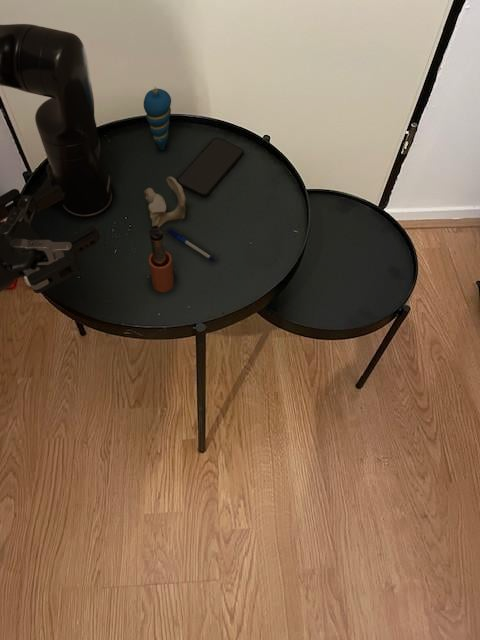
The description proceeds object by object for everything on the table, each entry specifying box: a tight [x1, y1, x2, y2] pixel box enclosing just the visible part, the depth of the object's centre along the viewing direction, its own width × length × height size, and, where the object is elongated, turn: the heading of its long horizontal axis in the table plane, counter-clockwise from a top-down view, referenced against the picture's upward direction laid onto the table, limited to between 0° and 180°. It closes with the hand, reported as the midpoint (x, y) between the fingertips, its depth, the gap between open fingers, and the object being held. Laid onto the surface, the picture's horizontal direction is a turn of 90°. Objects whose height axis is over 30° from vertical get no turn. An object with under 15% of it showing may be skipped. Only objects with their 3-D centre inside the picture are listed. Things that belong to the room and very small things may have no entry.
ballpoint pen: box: [168, 229, 215, 261], centre depth 101 cm, size 10×1×1 cm, turn 54°
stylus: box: [149, 227, 167, 267], centre depth 90 cm, size 2×2×14 cm
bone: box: [143, 176, 187, 228], centre depth 101 cm, size 9×6×10 cm
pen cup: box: [148, 250, 175, 293], centre depth 94 cm, size 4×4×7 cm
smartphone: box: [176, 137, 245, 198], centre depth 111 cm, size 7×1×15 cm
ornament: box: [143, 87, 172, 151], centre depth 107 cm, size 5×5×15 cm
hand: (79, 210), depth 70 cm, fingers open, 8 cm apart
